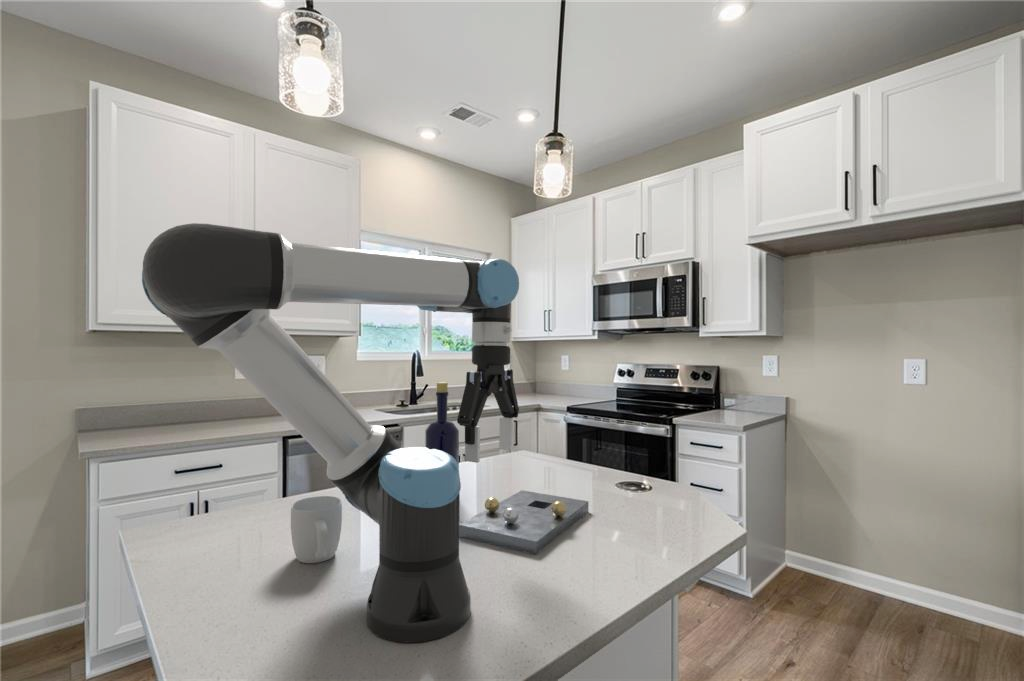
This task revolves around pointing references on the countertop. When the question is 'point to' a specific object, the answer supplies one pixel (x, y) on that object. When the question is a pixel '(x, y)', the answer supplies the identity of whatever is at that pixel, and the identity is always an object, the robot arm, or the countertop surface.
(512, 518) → the steel ball
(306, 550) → the mug
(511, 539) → the plate
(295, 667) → the countertop surface
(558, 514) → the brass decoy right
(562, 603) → the countertop surface
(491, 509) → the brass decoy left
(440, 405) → the bottle
